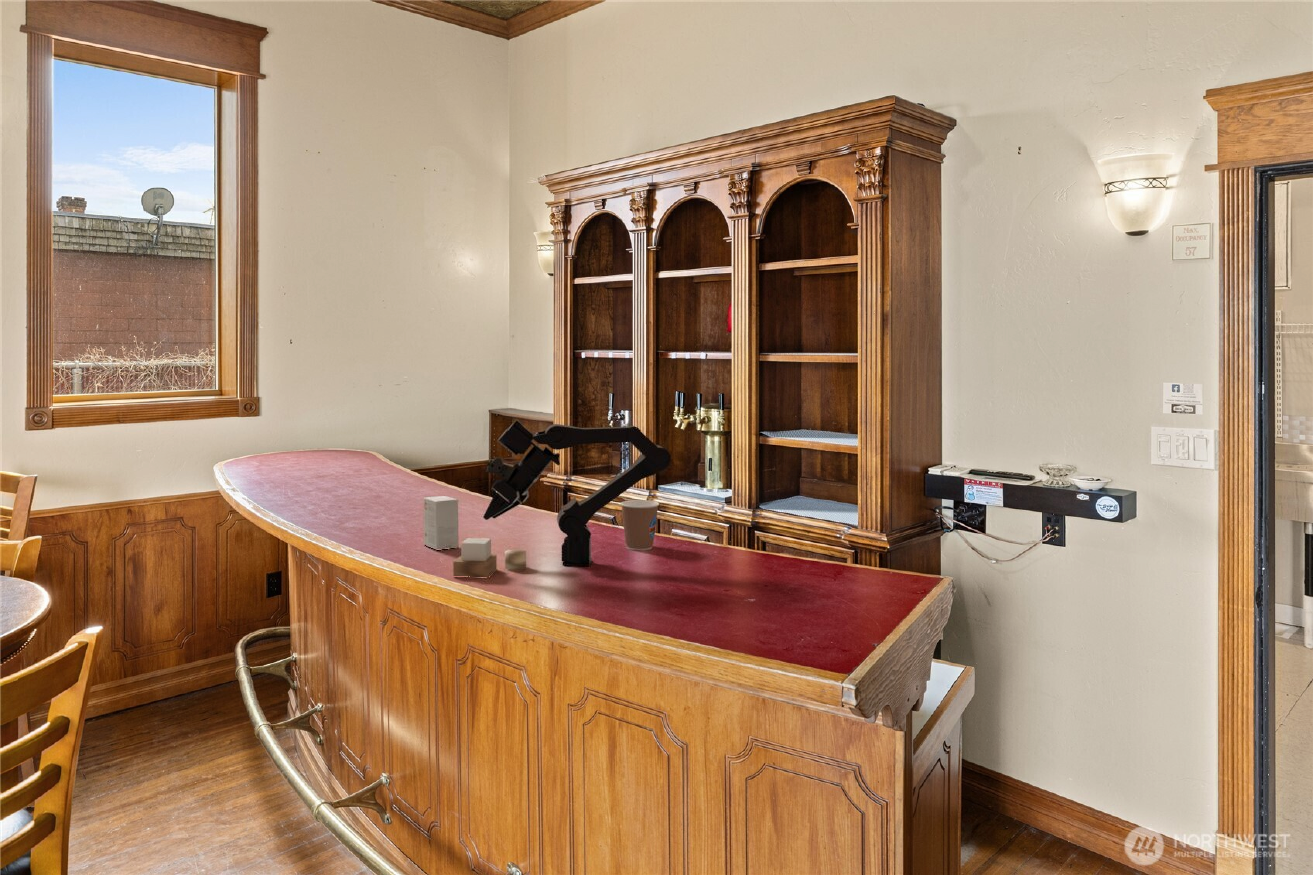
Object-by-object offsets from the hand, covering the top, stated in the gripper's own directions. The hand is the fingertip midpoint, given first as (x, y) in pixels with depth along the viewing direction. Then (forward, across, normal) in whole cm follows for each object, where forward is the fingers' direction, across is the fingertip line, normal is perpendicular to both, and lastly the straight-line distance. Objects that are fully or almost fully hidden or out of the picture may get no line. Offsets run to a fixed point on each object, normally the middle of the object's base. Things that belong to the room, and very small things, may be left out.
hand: (488, 518), depth 199 cm
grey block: (+8, +6, +4) cm, 11 cm away
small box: (+17, -21, -7) cm, 28 cm away
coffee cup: (-16, -24, +33) cm, 44 cm away
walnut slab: (+11, +5, +7) cm, 14 cm away
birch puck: (+5, 0, +13) cm, 14 cm away
